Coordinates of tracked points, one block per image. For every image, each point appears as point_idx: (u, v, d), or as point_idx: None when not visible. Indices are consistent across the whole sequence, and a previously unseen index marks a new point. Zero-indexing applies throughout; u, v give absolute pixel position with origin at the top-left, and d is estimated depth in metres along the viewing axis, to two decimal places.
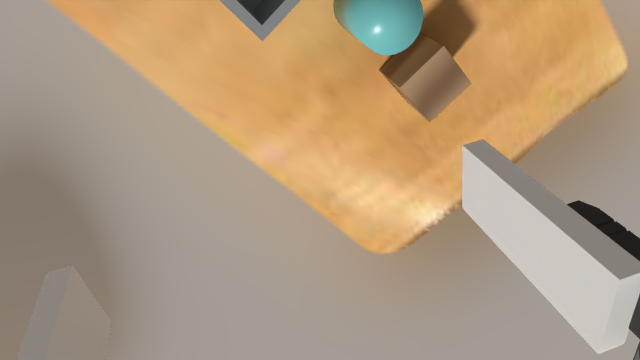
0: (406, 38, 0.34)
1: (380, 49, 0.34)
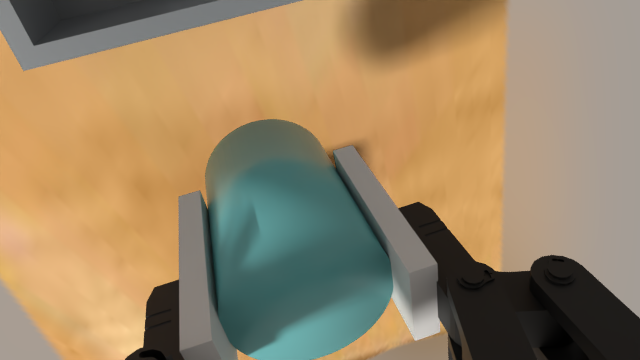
0: (322, 341, 0.14)
1: (250, 345, 0.13)
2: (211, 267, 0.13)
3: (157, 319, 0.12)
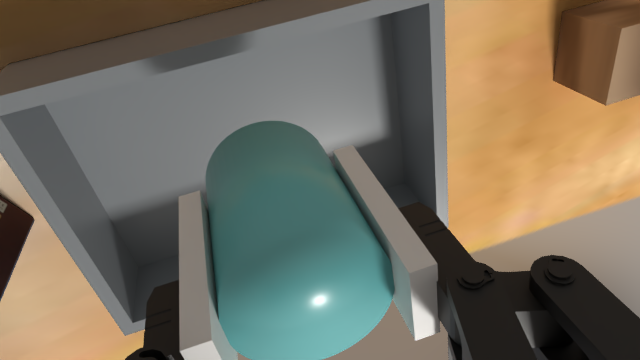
0: (323, 344, 0.13)
1: (251, 348, 0.13)
2: (211, 267, 0.13)
3: (157, 319, 0.12)
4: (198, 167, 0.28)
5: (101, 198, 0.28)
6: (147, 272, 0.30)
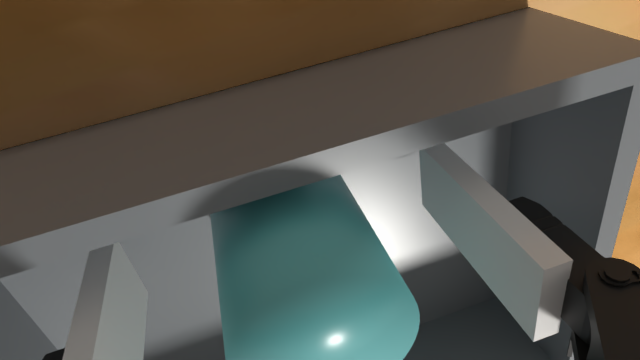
0: None
1: None
2: (110, 330, 0.12)
3: None
4: (212, 303, 0.19)
5: None
6: None
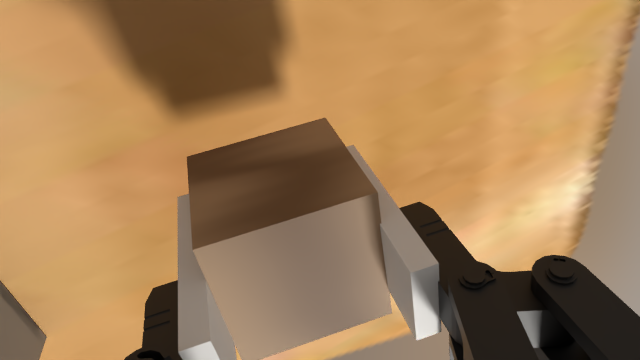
0: None
1: None
2: None
3: (156, 320, 0.12)
4: None
5: None
6: None
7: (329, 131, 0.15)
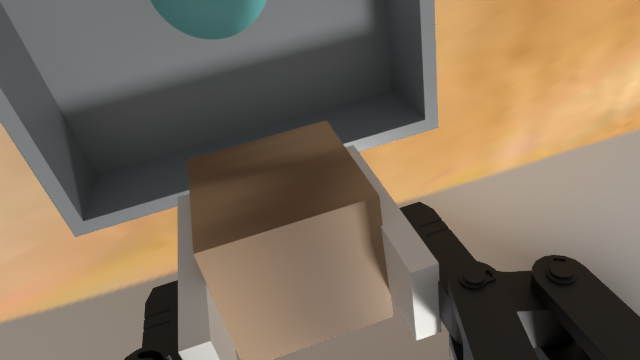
0: (222, 22, 0.19)
1: (168, 10, 0.18)
2: None
3: (156, 320, 0.12)
4: (159, 54, 0.26)
5: (50, 85, 0.25)
6: (105, 178, 0.28)
7: (330, 134, 0.15)
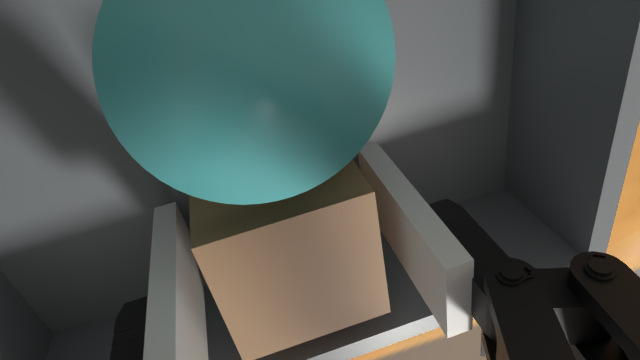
0: (282, 170, 0.09)
1: (161, 159, 0.08)
2: (183, 282, 0.13)
3: (125, 337, 0.12)
4: None
5: None
6: (66, 345, 0.17)
7: None
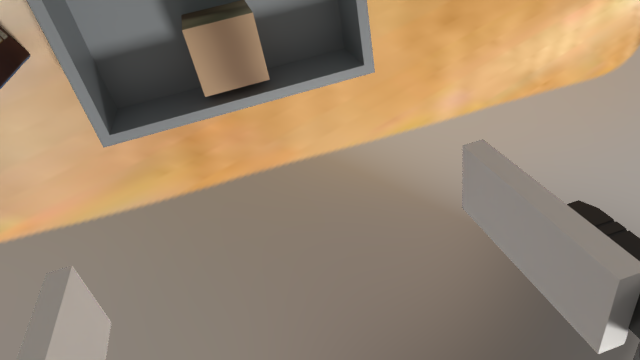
0: None
1: None
2: None
3: None
4: (164, 15, 0.34)
5: (84, 37, 0.34)
6: (124, 110, 0.37)
7: (243, 2, 0.34)
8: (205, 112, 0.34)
